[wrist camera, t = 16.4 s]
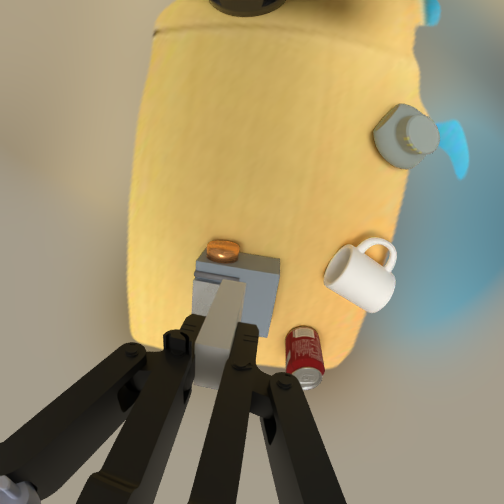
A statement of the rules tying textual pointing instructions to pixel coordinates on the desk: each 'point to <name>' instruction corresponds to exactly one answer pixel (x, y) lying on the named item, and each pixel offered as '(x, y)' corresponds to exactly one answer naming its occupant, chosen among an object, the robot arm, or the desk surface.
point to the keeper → (203, 295)
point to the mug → (362, 275)
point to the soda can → (304, 357)
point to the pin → (222, 251)
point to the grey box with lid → (247, 284)
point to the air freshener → (405, 136)
